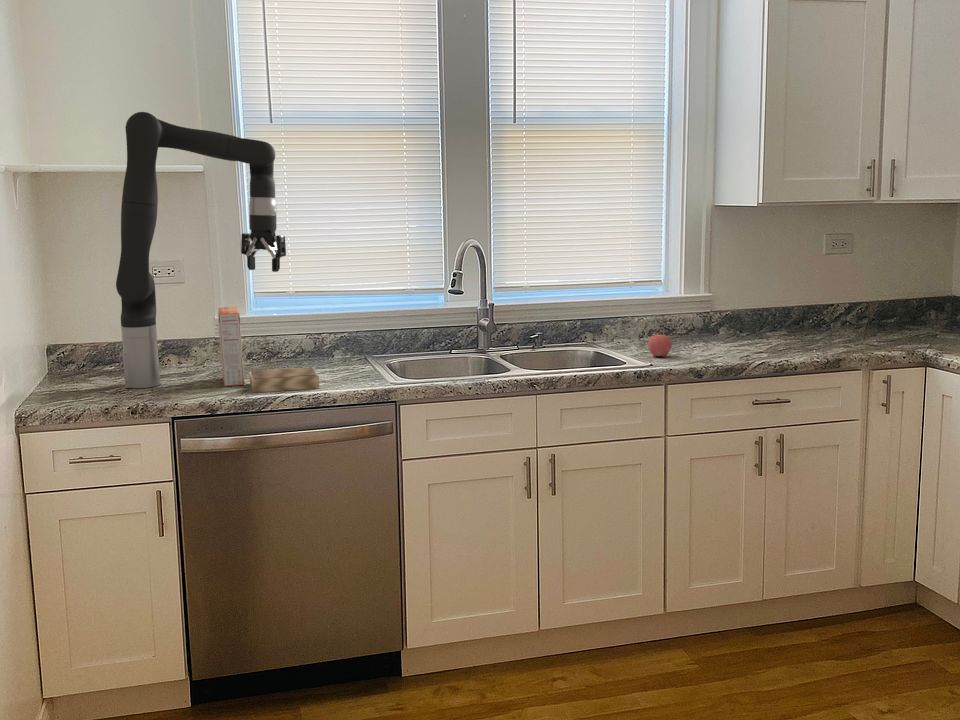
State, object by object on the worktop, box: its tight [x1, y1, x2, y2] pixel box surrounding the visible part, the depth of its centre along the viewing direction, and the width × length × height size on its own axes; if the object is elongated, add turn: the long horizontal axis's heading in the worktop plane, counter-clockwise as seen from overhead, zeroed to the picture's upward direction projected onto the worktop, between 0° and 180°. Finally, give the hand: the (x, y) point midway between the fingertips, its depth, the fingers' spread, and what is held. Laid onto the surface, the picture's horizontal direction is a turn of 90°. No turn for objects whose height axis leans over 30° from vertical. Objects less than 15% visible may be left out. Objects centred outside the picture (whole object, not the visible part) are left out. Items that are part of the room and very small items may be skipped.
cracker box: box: [217, 306, 245, 388], centre depth 264 cm, size 14×6×21 cm, turn 16°
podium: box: [249, 366, 320, 394], centre depth 259 cm, size 18×13×4 cm
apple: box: [647, 332, 673, 357], centre depth 298 cm, size 7×7×8 cm
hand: (263, 270), depth 265 cm, fingers open, 8 cm apart
